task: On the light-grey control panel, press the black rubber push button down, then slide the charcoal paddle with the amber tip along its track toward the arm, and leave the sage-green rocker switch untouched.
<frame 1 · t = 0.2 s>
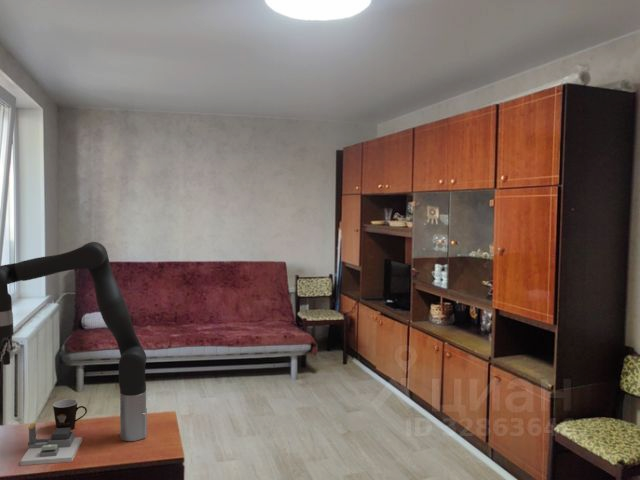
hand: (2, 368, 196), 28 cm above the table, fingers open, 8 cm apart
push button: (61, 435, 198), point 5 cm above the table, slide at 0.0 cm
coffee mug: (68, 429, 213), on the table
rocker switch: (49, 447, 190), point 4 cm above the table, hinge at 10.0°
paddle slider: (32, 434, 196), point 5 cm above the table, slide at 0.0 cm
panel: (52, 452, 194), on the table
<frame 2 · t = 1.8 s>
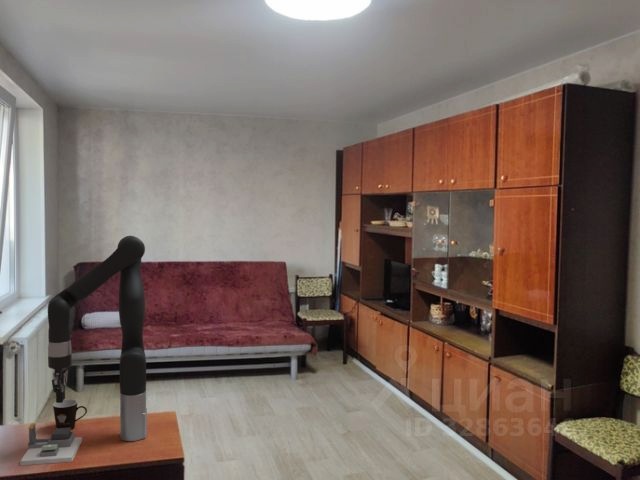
hand: (60, 400, 197), 17 cm above the table, fingers closed
nothing on the table moved.
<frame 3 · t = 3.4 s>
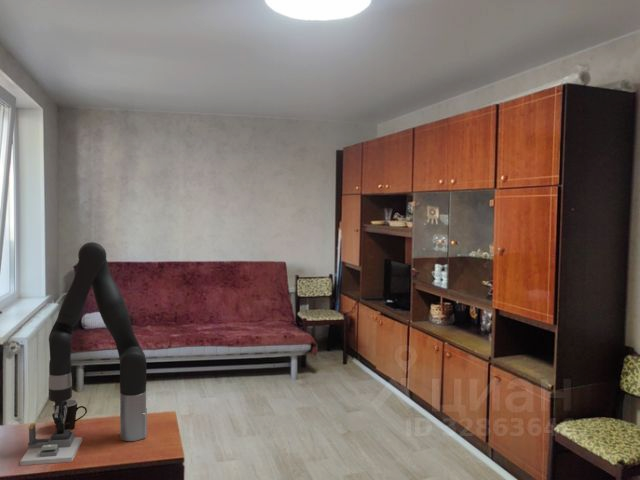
hand: (60, 432, 198), 5 cm above the table, fingers closed
push button: (61, 436, 198), point 4 cm above the table, slide at 0.7 cm, touching gripper
everything else where it was.
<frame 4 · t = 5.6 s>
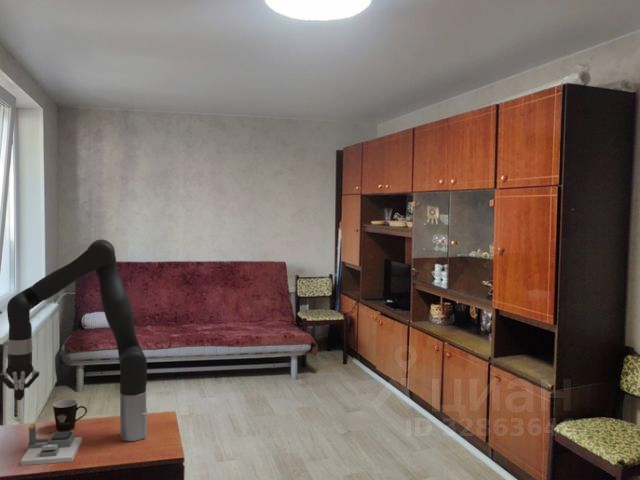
hand: (19, 399, 194), 18 cm above the table, fingers closed
push button: (61, 438, 198), point 3 cm above the table, slide at 1.3 cm
everything else where it was.
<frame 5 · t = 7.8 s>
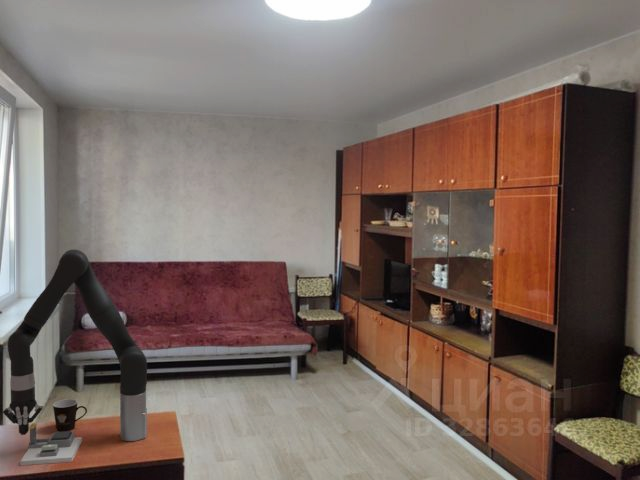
hand: (24, 433, 195), 6 cm above the table, fingers closed
paddle slider: (33, 434, 196), point 5 cm above the table, slide at 0.3 cm, touching gripper
everything else where it was.
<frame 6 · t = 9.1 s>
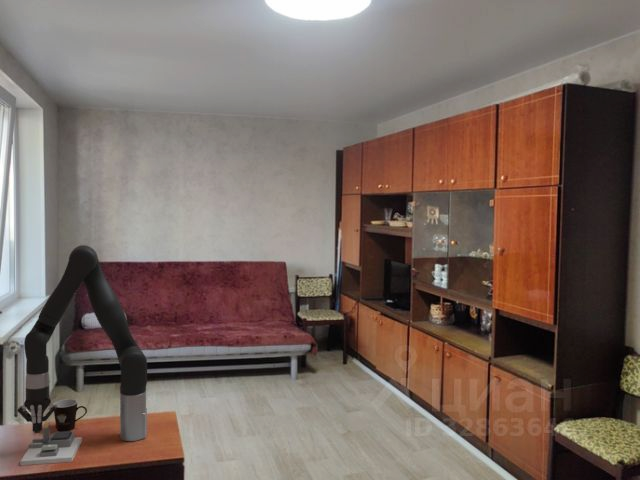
hand: (37, 432, 196), 6 cm above the table, fingers closed
paddle slider: (46, 433, 197), point 5 cm above the table, slide at 4.6 cm, touching gripper
everything else where it was.
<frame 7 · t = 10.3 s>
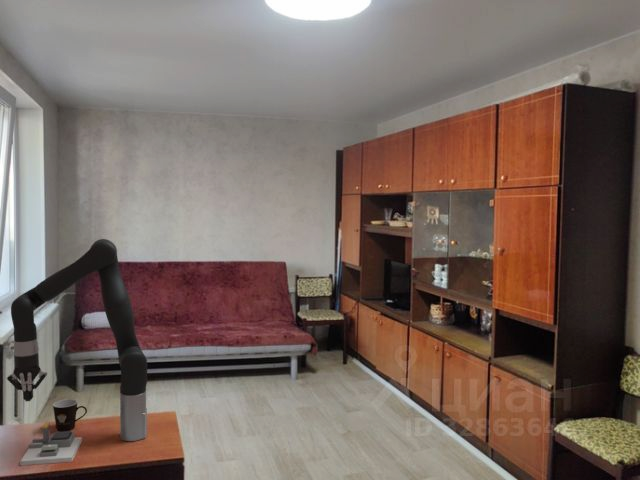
hand: (28, 400, 194), 18 cm above the table, fingers closed
paddle slider: (46, 433, 197), point 5 cm above the table, slide at 4.6 cm
everything else where it was.
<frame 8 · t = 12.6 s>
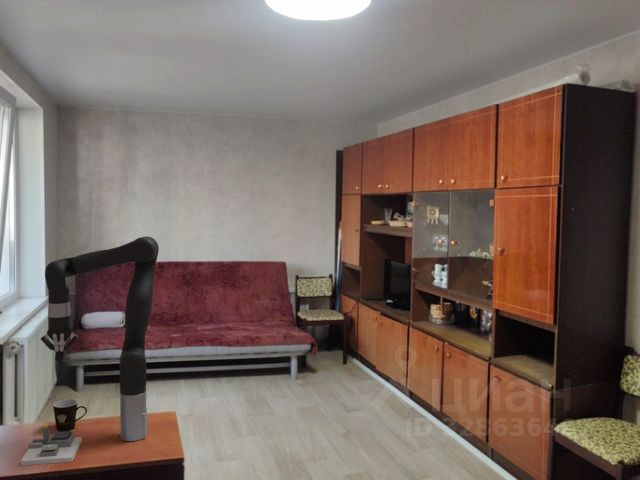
hand: (60, 360, 204), 29 cm above the table, fingers closed
nothing on the table moved.
at the end: push button slide at 1.3 cm; paddle slider slide at 4.6 cm; rocker switch at +10° (first picture: +10°) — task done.
